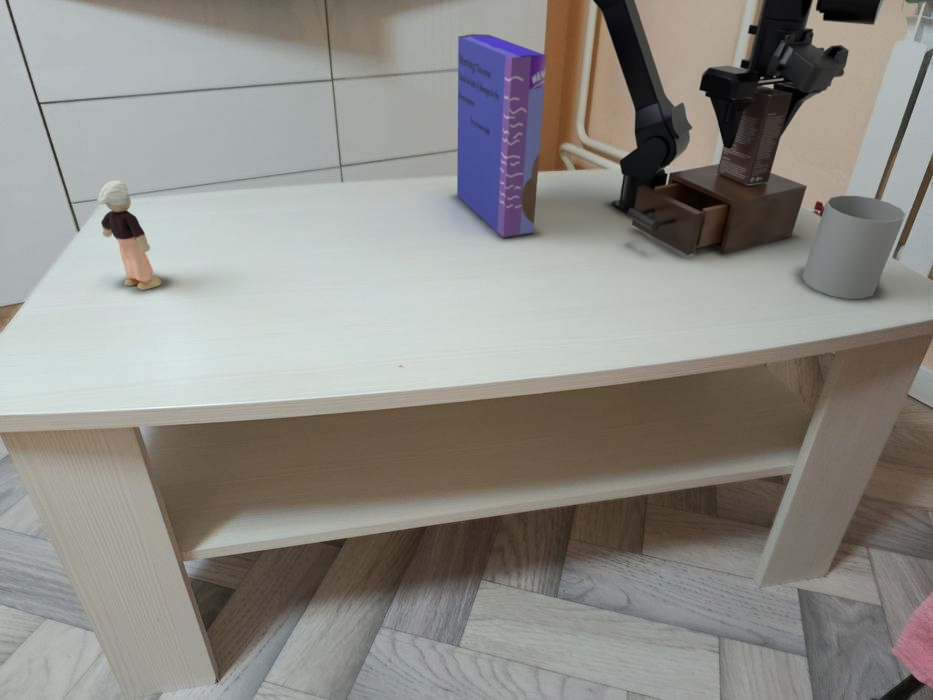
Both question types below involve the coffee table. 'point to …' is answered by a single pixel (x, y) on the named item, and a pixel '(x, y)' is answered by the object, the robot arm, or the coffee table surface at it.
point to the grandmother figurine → (127, 235)
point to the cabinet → (748, 206)
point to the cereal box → (499, 131)
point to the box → (756, 138)
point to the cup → (852, 246)
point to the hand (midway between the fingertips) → (751, 143)
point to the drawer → (680, 216)
